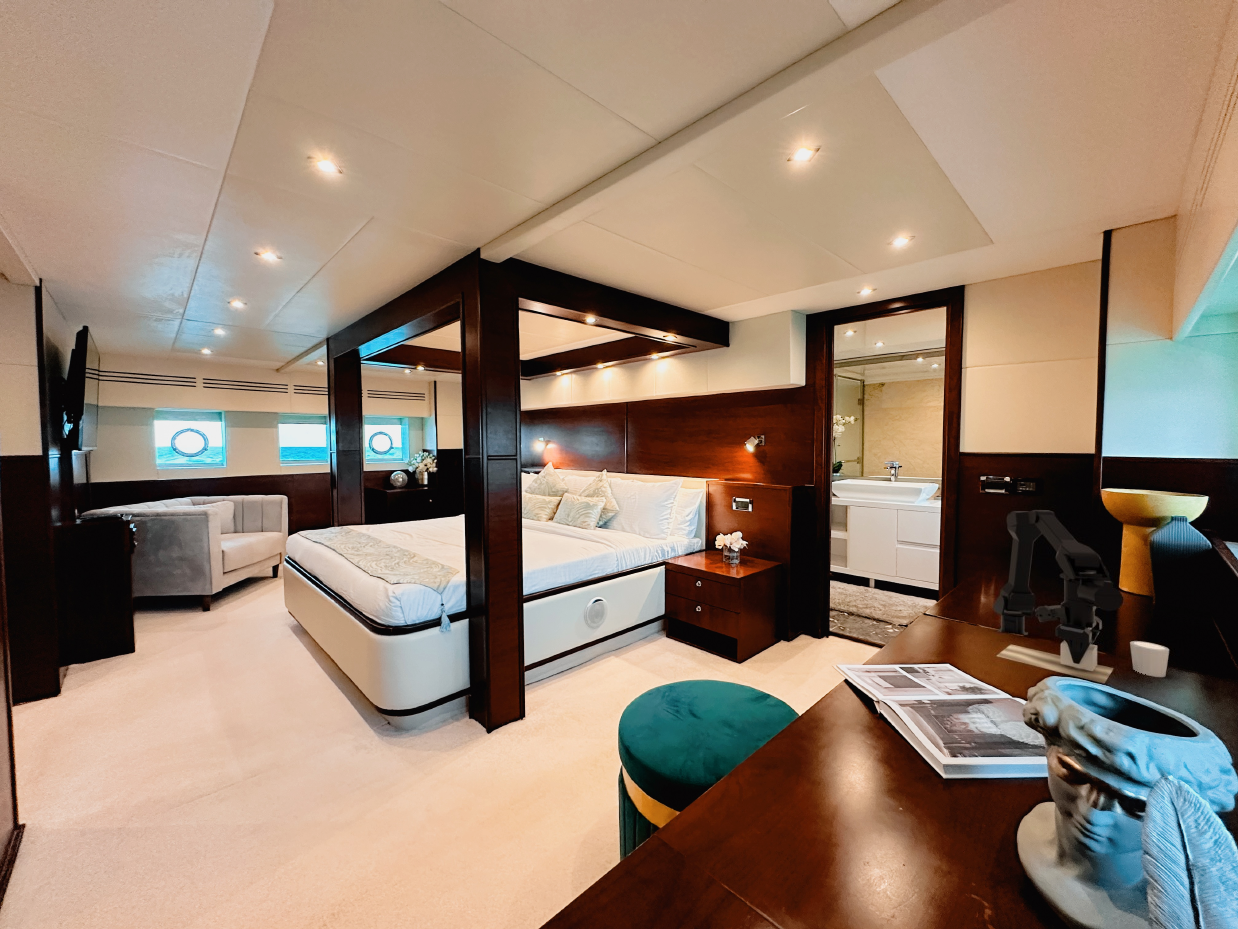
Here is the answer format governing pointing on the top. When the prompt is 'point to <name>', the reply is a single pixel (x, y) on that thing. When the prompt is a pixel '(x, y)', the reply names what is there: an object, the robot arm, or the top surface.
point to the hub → (1087, 661)
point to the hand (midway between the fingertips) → (1078, 660)
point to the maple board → (1053, 663)
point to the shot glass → (1149, 658)
